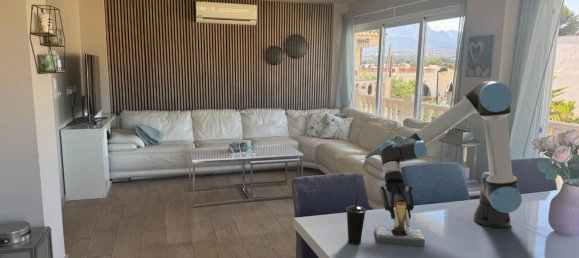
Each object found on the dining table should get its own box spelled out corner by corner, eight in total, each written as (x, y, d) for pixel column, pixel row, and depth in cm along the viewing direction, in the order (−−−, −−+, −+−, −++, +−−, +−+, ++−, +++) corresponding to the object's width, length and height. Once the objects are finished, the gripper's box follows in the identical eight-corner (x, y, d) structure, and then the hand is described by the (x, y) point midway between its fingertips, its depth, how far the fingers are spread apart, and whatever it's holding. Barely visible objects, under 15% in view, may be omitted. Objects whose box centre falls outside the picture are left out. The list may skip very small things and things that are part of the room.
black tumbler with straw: (366, 240, 165) (369, 192, 162) (361, 248, 159) (364, 197, 156) (347, 236, 169) (350, 189, 166) (342, 244, 162) (344, 194, 159)
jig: (418, 234, 173) (419, 226, 173) (424, 246, 161) (425, 238, 161) (374, 231, 175) (375, 223, 175) (377, 243, 164) (377, 235, 163)
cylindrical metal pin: (403, 228, 170) (405, 200, 168) (405, 232, 166) (407, 203, 164) (393, 227, 170) (395, 199, 168) (394, 231, 166) (396, 202, 164)
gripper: (410, 179, 181) (421, 230, 167) (371, 178, 180) (379, 229, 166) (415, 170, 175) (427, 222, 161) (375, 169, 174) (383, 222, 160)
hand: (402, 226), depth 164 cm, fingers closed on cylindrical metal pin, 4 cm apart
